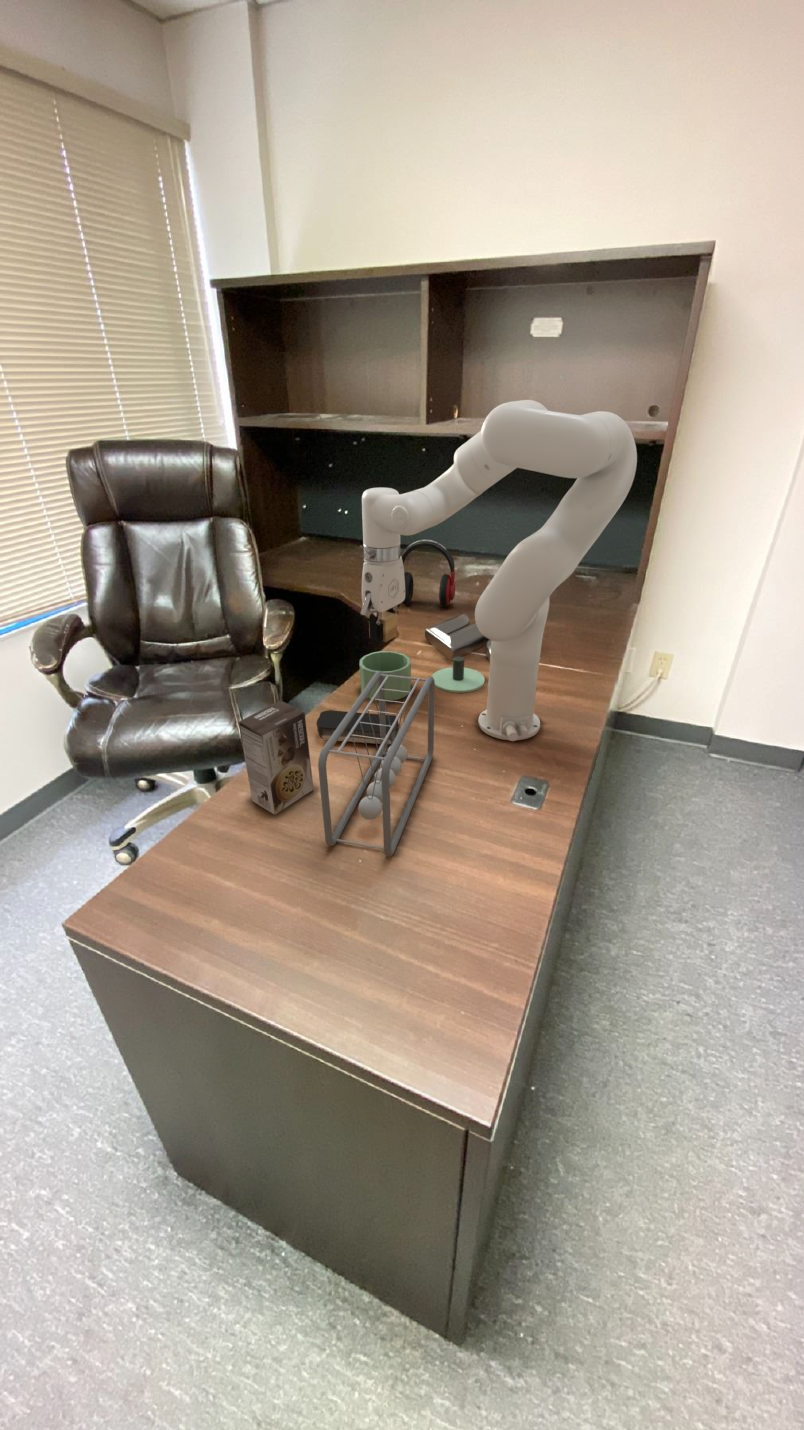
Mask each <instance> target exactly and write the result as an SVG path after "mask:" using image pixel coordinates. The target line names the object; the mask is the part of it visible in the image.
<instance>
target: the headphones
mask: <svg viewBox="0 0 804 1430" xmlns="http://www.w3.org/2000/svg"><path fill="white" fill-rule="evenodd" d="M419 548H431V549H434V550H436V551H438V552H439V553H440V554H442V556H444V558H445V559H446V561H447V563H448V566H449V570H450V572H449V573H450V574H448V573H444V574H442V575H441V577H440V582H439V589H438V600H439V605H440V606H441V607H443V608H447V607H449V605H450V604H451V601H453V600H454V599H455V597H456V583H455V579H456V577H455V575H456V571H455V560H454V557H453V555H452V553H451V552H450V550H449V549H448V548H447V547H446V546H445V545H444V544H442V543H441V542H439V541H437V540H435V539H429V538H423V539H418V540H416V541H413V542H412V543H410V544H409V545H408V546H407V547H406V548H405V549H404V550H403V551H402V552H401V554H400V556H401V557H402V561H403V564H405V561H406V558H408V555H409V554H411V552H413V551H415V550H416V549H419ZM404 576H405V600H404V601H403V602H402V605H405V606H408V605H410V604H411V603H412V600H413V595H414V578H413V574H412V573H411V572H409V571H406V572H405V571H404Z"/></svg>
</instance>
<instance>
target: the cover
mask: <svg viewBox="0 0 804 1430" xmlns="http://www.w3.org/2000/svg"><path fill="white" fill-rule="evenodd" d="M431 676H432V677H433V678H434V682H435V688H437V689H438V690H441V691H444V692H448V693H453V694H454V693H455V694H464V693H471V692H475V691H477V690H480V689H481V688H482V687H484V685H485V679H486V678H485V676H484V675H483V674H482V672H480V671H478V670H476V669H473V668H469V667H465V657H464V656H463V657H454V658H453V661H452V666H449V667H444V668H441V669H438V670H437V671H435V672H434V673H433V674H432V675H431Z"/></svg>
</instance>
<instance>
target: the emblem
mask: <svg viewBox="0 0 804 1430" xmlns="http://www.w3.org/2000/svg"><path fill="white" fill-rule="evenodd" d="M424 638H425V640H426V641H427V642H428V643H429V644H430V645H431V646H433V647H434V648H435V649H436V650H437V651H438V652H439V653H441V654H442V656H443V657H445V658H446V659H447V660H449V662H453V658H454V657H463V658H464V657H465V656H467V655H469V654H471V653H473V652H476V651H477V650H480V649H481V648H484V647H485V655H486V658H487V660H488V662H490V654H491V643H492V640H490V639H488V638H486V637H485V636H484V635H482V633H481V632H480V631H479V629H478V627H477V625H476V622H474V623H471V622H470V617H469V615H468V614H467V613H462V614H461V613H460V614H459V615H456V616H454V617H451V618H448V619H446V620H443V621H441V622H437V623H436V624H434V625H433V624H432V625H431V626H429V627H427V628H425V630H424Z"/></svg>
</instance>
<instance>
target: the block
mask: <svg viewBox="0 0 804 1430" xmlns="http://www.w3.org/2000/svg"><path fill="white" fill-rule="evenodd" d="M373 614H374V615H375V616H377V612H373ZM381 623H382V624H383V641H382V642H383V643H387V642H389V641H390V640H392V639H394V638H396V637H397V636H398V615H397V614H395V613H391V612H386V611H384V612H382V618H381ZM368 632H369V633H368V635H369V637H368V638H369V639H370V626H369V625H368Z"/></svg>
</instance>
